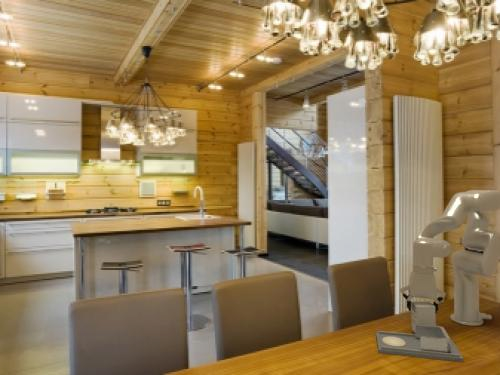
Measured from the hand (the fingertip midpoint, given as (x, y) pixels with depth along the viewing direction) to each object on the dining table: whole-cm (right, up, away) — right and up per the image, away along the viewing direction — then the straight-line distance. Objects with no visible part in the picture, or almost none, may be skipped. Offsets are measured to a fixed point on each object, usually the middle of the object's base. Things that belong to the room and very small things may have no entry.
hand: (422, 311), depth 149 cm
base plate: (-8, -10, -12) cm, 17 cm away
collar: (-2, -8, -13) cm, 16 cm away
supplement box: (+1, -10, +1) cm, 10 cm away
